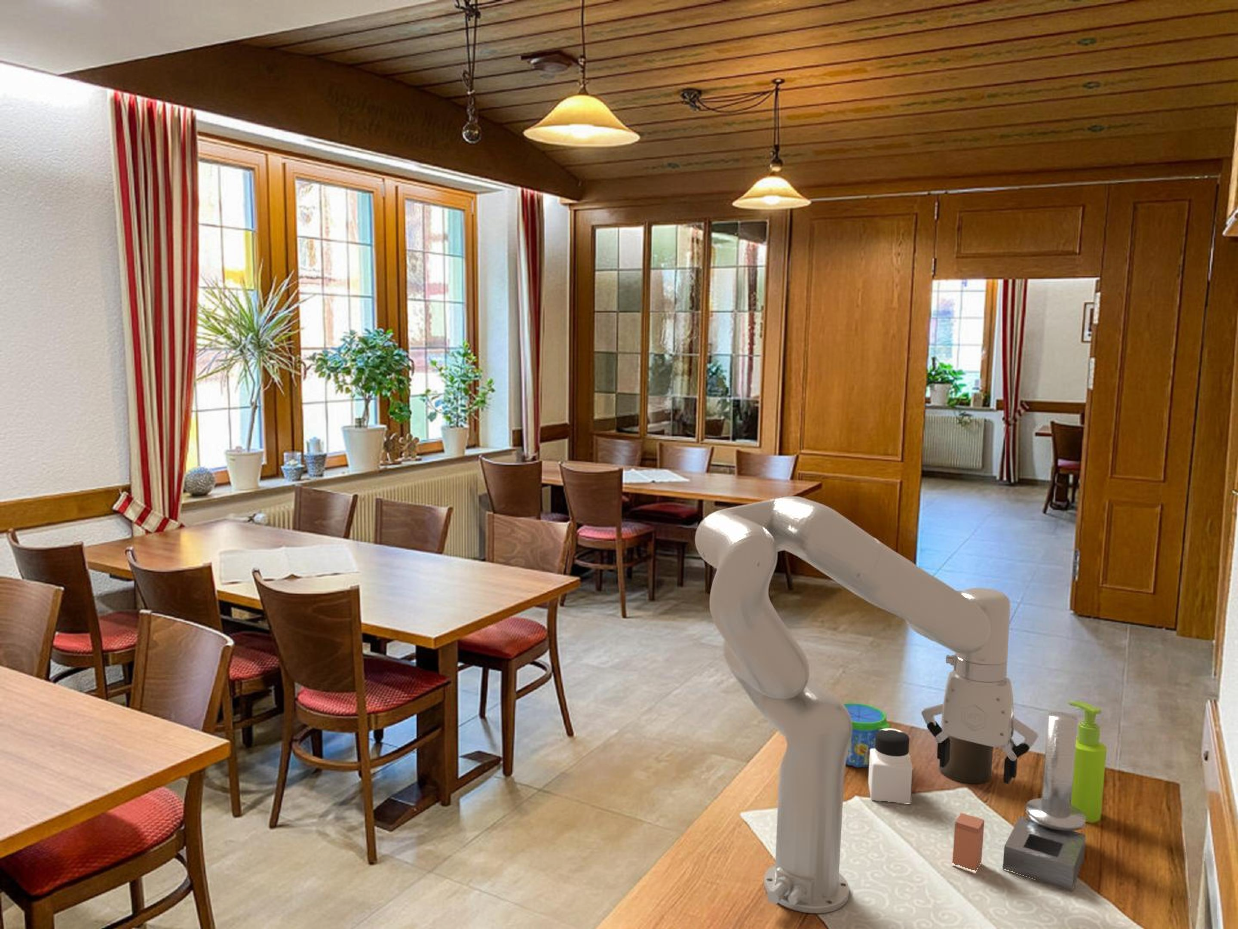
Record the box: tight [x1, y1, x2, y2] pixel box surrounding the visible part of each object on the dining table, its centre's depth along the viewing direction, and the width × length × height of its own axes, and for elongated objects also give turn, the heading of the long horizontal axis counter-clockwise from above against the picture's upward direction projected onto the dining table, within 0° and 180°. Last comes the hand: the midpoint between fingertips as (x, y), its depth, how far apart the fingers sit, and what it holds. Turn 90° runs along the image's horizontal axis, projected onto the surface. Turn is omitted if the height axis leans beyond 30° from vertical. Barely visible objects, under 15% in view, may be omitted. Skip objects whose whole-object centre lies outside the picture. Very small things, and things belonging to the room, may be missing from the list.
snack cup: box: [843, 702, 893, 769], centre depth 181 cm, size 16×10×10 cm
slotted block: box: [1002, 711, 1087, 892], centre depth 147 cm, size 18×10×22 cm, turn 145°
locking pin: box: [951, 812, 985, 871], centre depth 144 cm, size 4×4×8 cm
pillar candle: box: [938, 736, 994, 784], centre depth 177 cm, size 10×10×15 cm
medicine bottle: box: [867, 727, 914, 804], centre depth 167 cm, size 7×7×12 cm
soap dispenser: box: [1068, 700, 1107, 823], centre depth 161 cm, size 6×7×20 cm
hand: (975, 772), depth 143 cm, fingers open, 9 cm apart
